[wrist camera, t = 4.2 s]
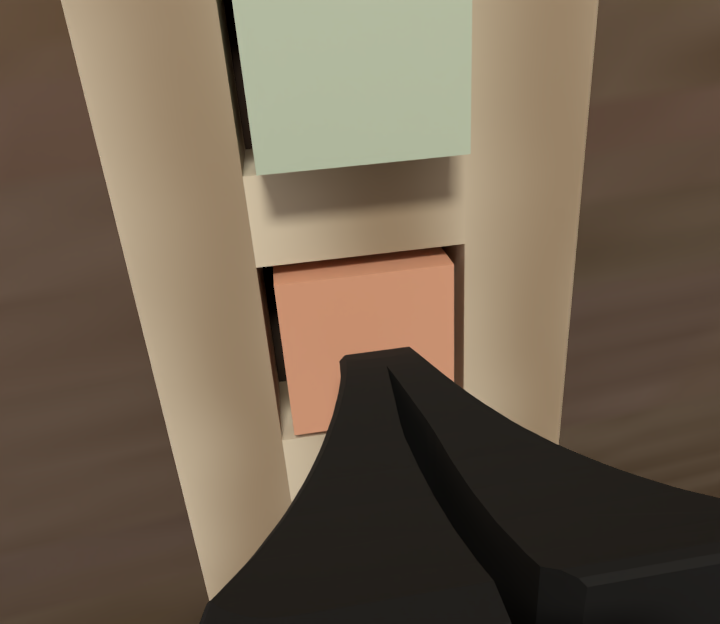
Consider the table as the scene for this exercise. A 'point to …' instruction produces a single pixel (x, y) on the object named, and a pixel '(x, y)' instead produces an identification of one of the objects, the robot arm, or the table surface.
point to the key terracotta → (359, 320)
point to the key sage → (355, 81)
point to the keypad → (327, 235)
